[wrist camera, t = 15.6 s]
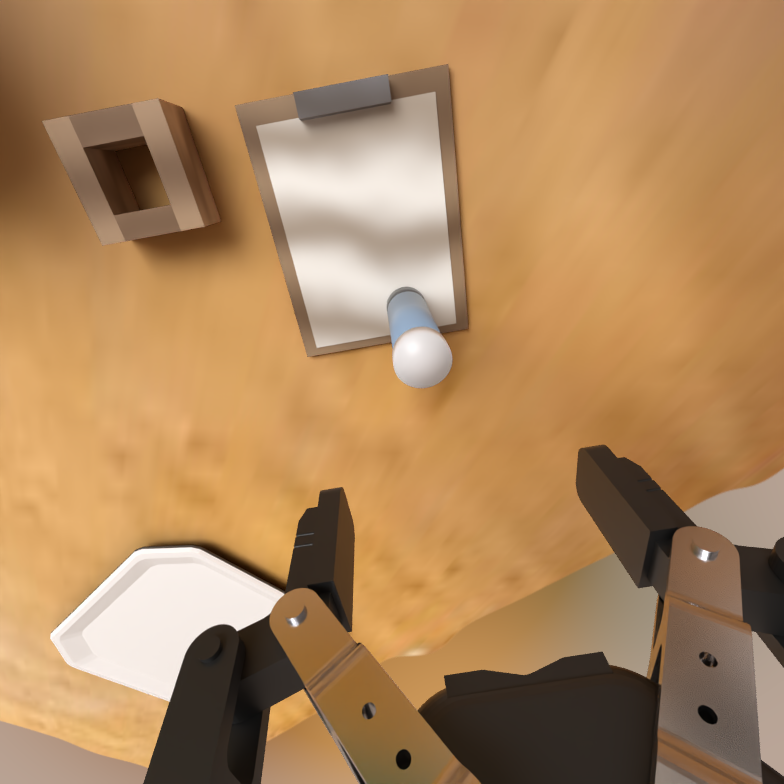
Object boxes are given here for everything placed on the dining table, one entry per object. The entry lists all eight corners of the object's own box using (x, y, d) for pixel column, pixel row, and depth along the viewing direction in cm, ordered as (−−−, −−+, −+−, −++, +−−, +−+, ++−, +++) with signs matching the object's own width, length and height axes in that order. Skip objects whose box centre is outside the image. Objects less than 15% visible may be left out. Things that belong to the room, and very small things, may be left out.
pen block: (79, 127, 26) (41, 120, 23) (182, 107, 26) (158, 98, 23) (129, 238, 30) (102, 245, 27) (221, 221, 30) (204, 226, 27)
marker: (382, 289, 32) (388, 339, 22) (423, 282, 32) (449, 329, 22) (389, 329, 34) (398, 392, 24) (428, 322, 34) (454, 382, 24)
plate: (362, 620, 54) (362, 636, 52) (233, 707, 62) (228, 724, 60) (167, 513, 43) (158, 529, 41) (43, 636, 51) (30, 654, 50)
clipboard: (237, 106, 26) (229, 102, 25) (446, 65, 26) (451, 59, 25) (308, 354, 35) (305, 362, 34) (467, 326, 35) (471, 333, 33)
